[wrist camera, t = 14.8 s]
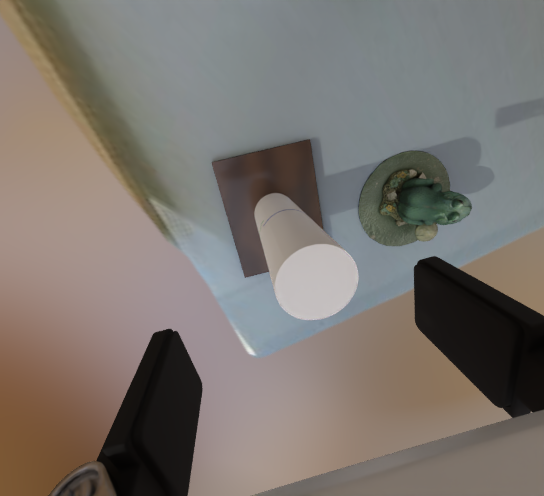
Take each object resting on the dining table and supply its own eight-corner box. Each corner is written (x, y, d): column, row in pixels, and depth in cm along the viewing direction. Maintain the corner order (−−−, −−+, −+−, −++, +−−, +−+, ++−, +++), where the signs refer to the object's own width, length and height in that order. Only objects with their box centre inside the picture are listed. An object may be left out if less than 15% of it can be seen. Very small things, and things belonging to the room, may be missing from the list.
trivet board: (307, 139, 42) (310, 139, 41) (324, 253, 50) (327, 256, 49) (212, 162, 42) (211, 162, 40) (244, 274, 50) (245, 277, 48)
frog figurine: (433, 247, 53) (483, 272, 42) (350, 244, 50) (381, 270, 39) (462, 155, 47) (529, 157, 36) (369, 146, 44) (412, 146, 33)
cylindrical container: (303, 210, 45) (375, 275, 22) (277, 241, 46) (318, 333, 23) (272, 184, 43) (315, 226, 20) (245, 217, 44) (256, 293, 21)
